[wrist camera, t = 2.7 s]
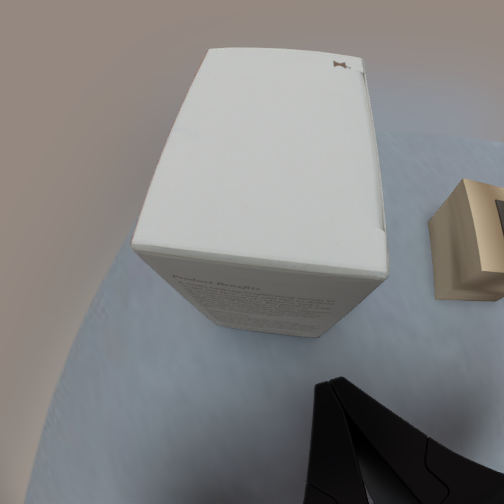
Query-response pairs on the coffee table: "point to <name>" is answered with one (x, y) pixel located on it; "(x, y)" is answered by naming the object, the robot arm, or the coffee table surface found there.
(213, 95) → the small box
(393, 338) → the coffee table surface
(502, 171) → the coffee table surface
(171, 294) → the coffee table surface
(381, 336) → the coffee table surface
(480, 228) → the marked block
